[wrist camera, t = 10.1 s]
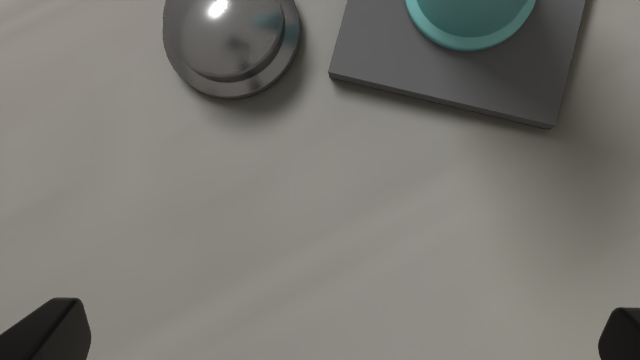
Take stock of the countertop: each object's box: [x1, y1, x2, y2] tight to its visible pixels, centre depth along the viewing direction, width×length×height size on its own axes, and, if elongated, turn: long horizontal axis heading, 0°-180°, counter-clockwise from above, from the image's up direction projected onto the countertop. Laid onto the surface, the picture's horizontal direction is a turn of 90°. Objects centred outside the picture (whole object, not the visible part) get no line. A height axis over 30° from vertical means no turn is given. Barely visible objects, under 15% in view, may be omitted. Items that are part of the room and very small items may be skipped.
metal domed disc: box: [163, 0, 300, 99], centre depth 22 cm, size 6×6×2 cm
